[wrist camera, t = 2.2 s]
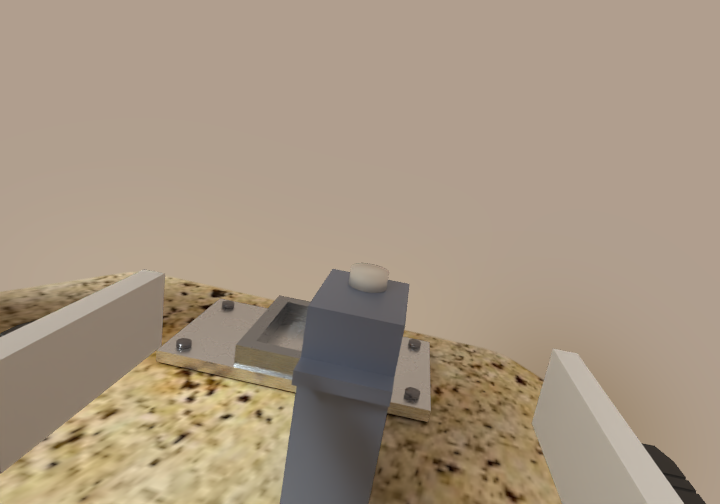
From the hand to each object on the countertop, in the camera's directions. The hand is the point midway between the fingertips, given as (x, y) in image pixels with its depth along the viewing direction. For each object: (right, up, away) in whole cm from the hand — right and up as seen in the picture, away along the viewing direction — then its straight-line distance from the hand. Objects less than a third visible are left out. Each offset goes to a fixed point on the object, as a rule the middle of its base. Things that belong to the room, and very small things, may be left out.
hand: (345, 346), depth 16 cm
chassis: (-4, -6, +27) cm, 28 cm away
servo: (-1, -11, +13) cm, 17 cm away
